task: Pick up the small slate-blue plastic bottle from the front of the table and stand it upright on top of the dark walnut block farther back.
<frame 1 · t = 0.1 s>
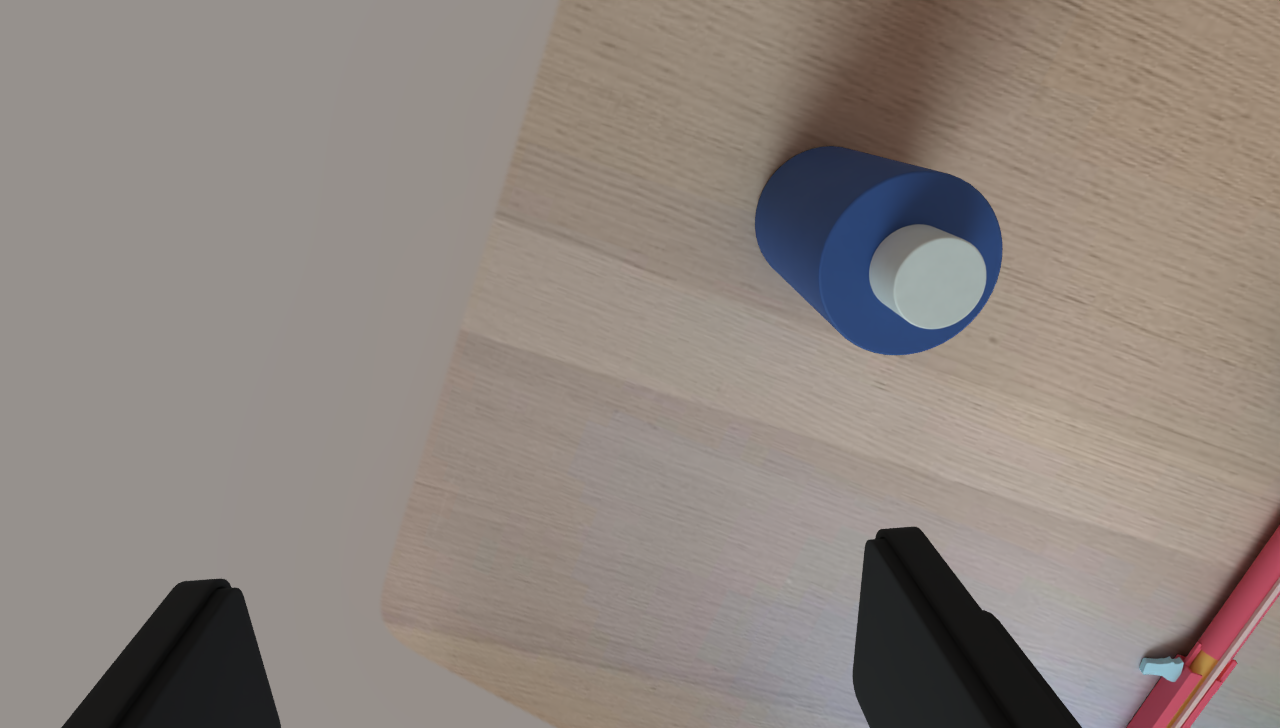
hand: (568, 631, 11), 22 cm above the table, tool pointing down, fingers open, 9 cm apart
bottle: (822, 218, 31), on the table
pink long slotted bar: (1177, 651, 43), on the table
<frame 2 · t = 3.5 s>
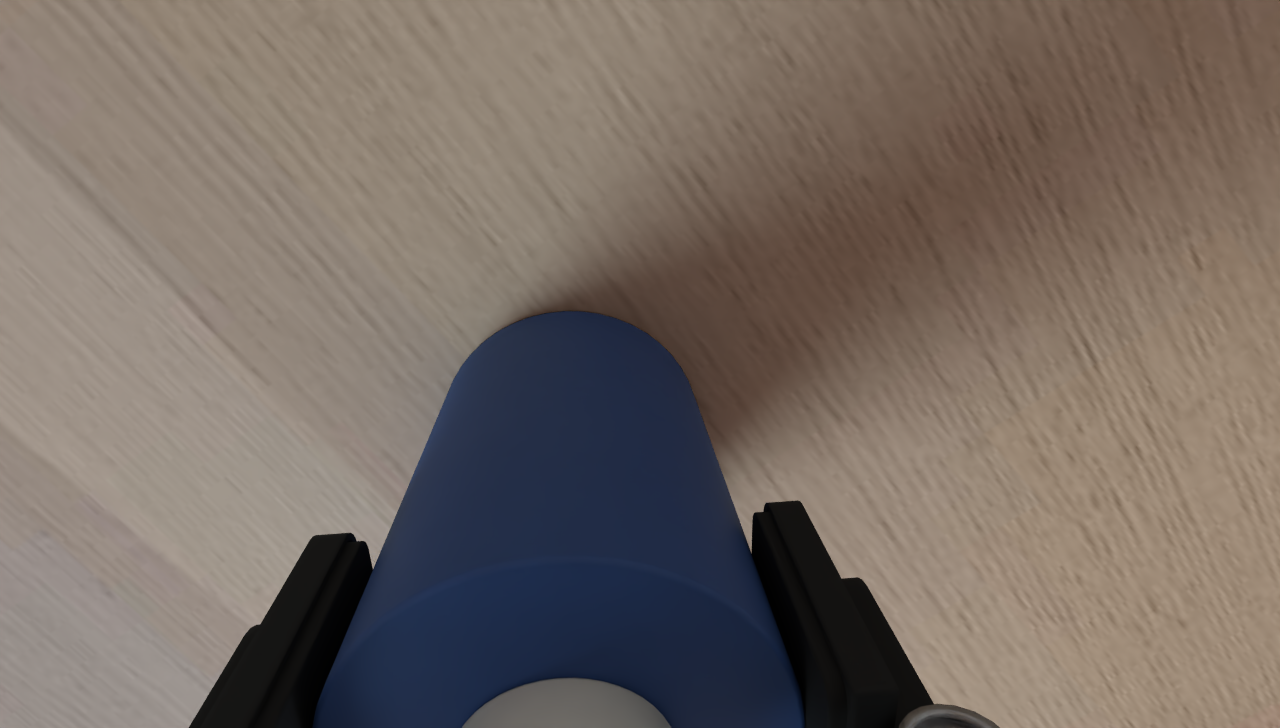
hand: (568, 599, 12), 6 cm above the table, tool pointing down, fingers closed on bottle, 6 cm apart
bottle: (572, 431, 17), on the table, touching gripper
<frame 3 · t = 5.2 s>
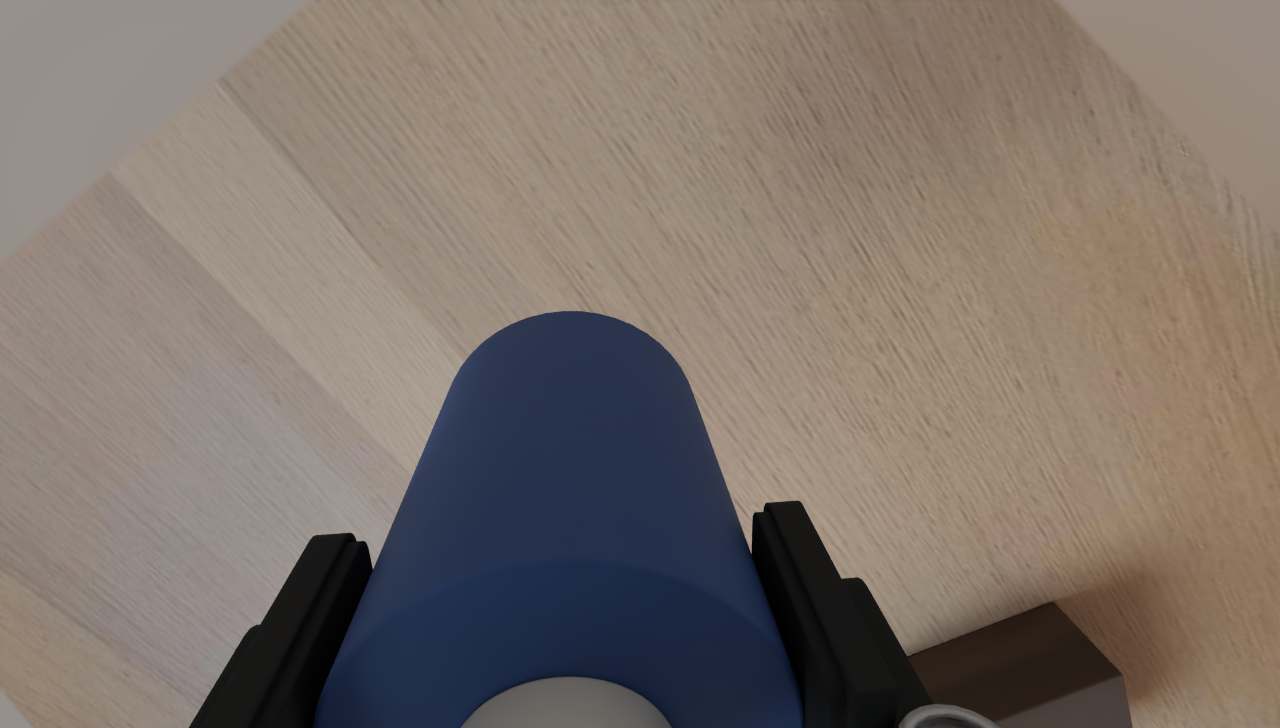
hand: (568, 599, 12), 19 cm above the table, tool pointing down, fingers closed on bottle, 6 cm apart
block: (981, 702, 39), on the table
bottle: (572, 430, 17), point 13 cm above the table, touching gripper
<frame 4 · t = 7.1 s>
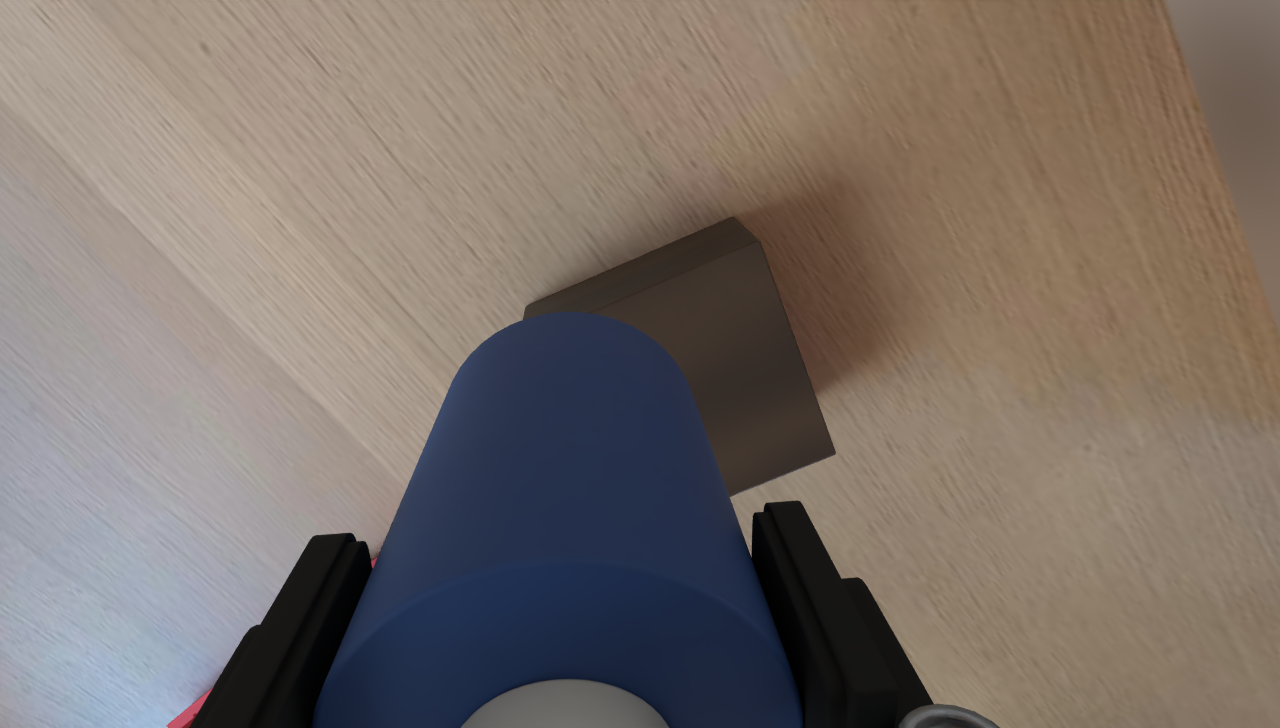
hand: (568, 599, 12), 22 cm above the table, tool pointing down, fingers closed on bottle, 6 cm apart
block: (670, 357, 34), on the table
bottle: (571, 431, 17), point 16 cm above the table, touching gripper
pink long slotted bar: (347, 580, 37), on the table
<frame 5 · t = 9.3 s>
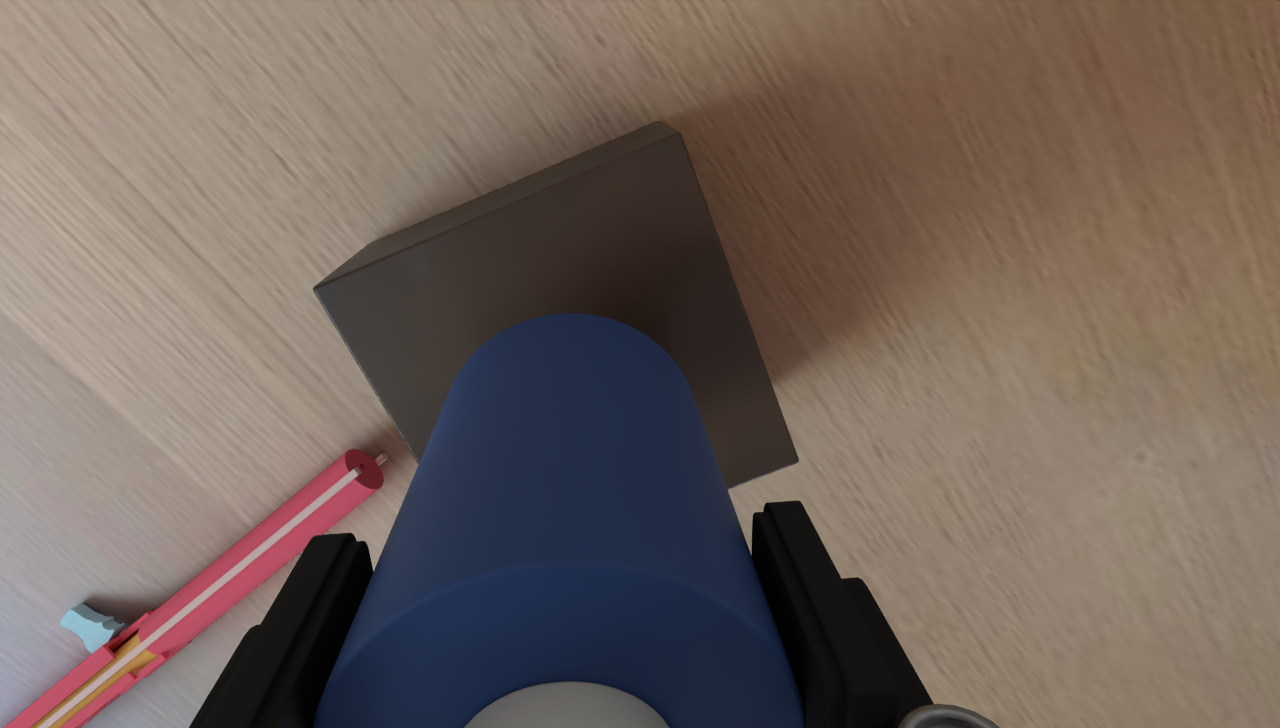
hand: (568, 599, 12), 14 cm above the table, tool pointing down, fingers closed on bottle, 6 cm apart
block: (575, 324, 24), on the table
bottle: (572, 432, 17), point 8 cm above the table, touching gripper
pink long slotted bar: (148, 621, 28), on the table
when the fingers open (11 cm above the table, at t = 10.6 s): bottle stays where it is, resting on block.
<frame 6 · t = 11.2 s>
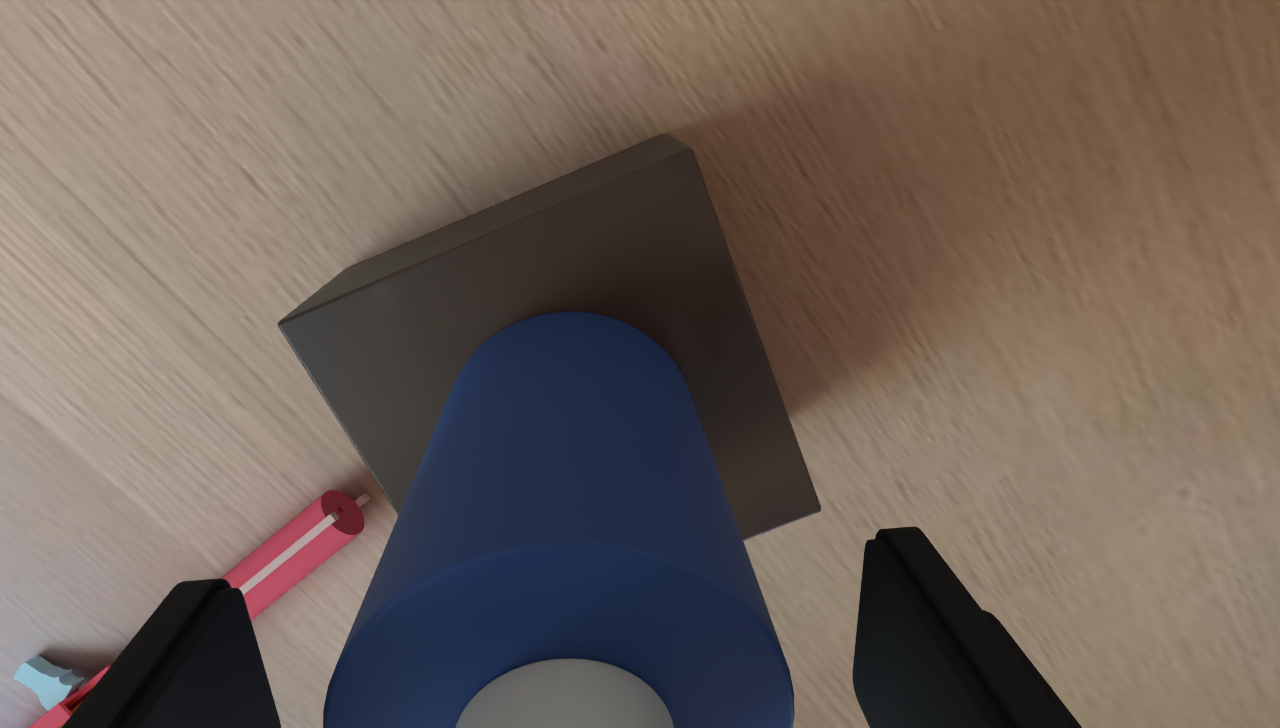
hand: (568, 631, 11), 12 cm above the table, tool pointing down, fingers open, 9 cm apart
block: (573, 354, 22), on the table
bottle: (571, 428, 18), point 5 cm above the table, touching block
pink long slotted bar: (110, 673, 25), on the table
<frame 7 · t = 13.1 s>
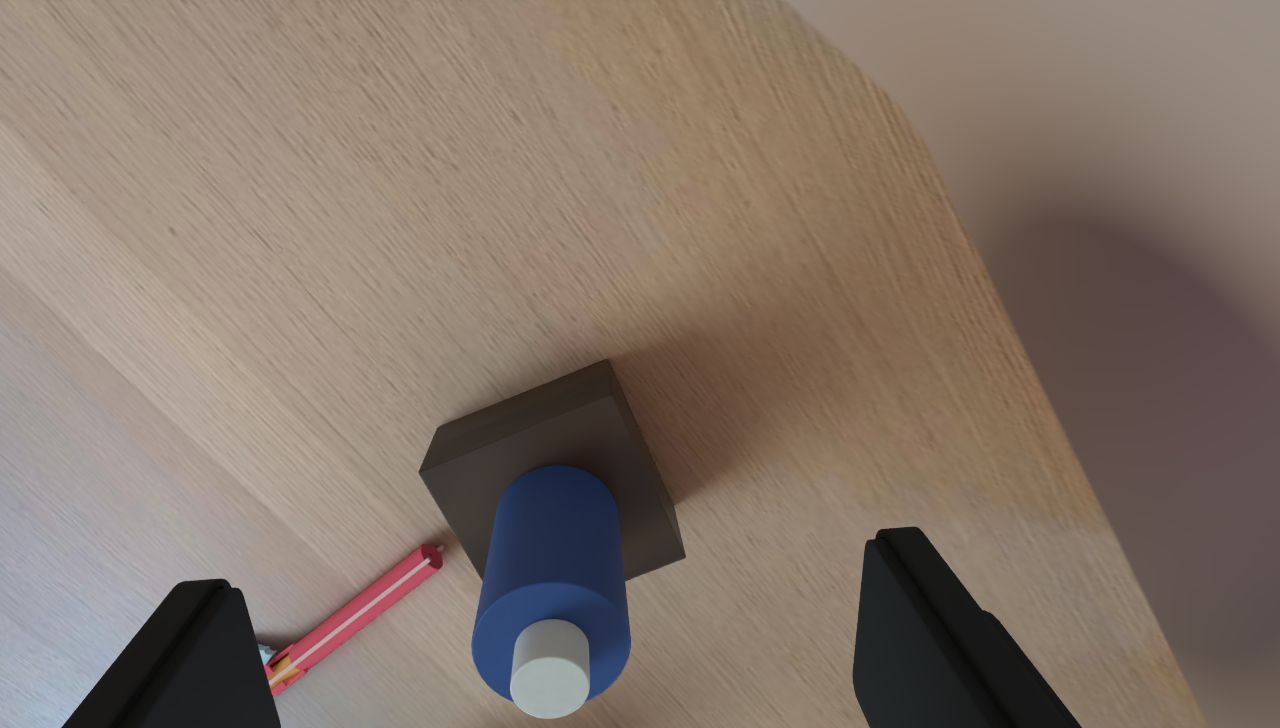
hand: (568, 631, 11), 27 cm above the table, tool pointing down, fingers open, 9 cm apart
block: (559, 468, 40), on the table
bottle: (557, 518, 36), point 5 cm above the table, touching block
pink long slotted bar: (288, 649, 43), on the table
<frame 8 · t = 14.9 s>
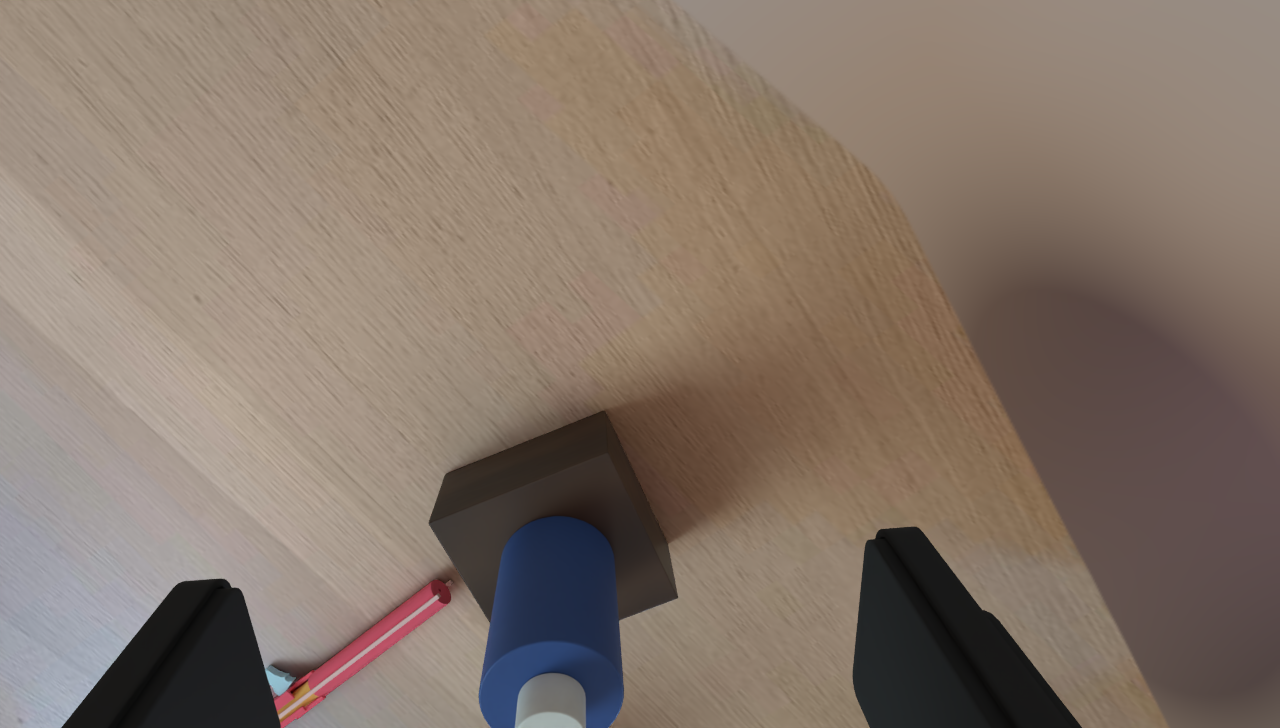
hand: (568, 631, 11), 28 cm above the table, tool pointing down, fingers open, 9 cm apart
block: (560, 510, 43), on the table
bottle: (557, 563, 38), point 5 cm above the table, touching block
pink long slotted bar: (306, 675, 46), on the table
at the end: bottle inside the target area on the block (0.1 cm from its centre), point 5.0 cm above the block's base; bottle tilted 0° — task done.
